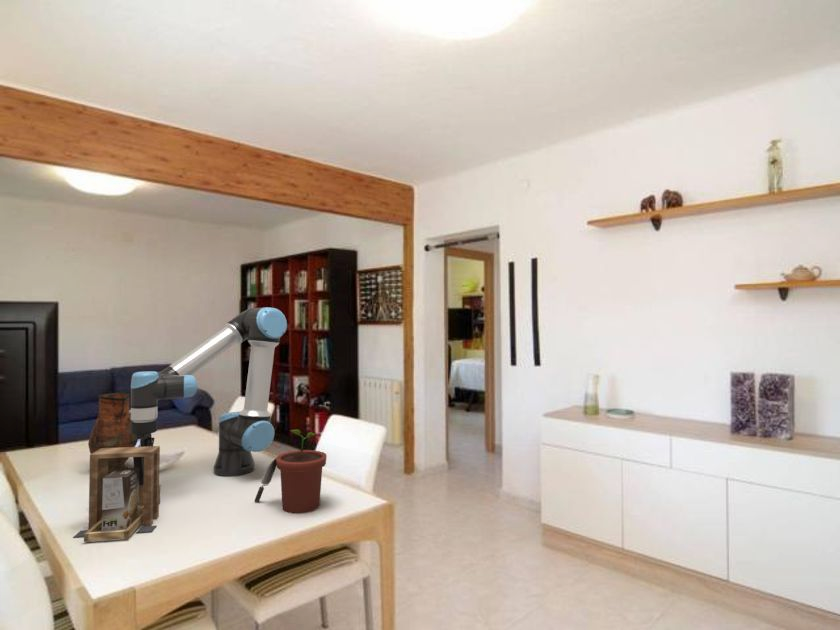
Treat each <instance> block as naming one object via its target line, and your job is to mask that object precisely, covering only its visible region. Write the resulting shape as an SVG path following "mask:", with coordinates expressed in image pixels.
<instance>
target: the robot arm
mask: <svg viewBox="0 0 840 630" xmlns="http://www.w3.org/2000/svg"><path fill="white" fill-rule="evenodd" d="M287 327H288V322H287V319H286V316H285V314H284V313H283V312H282V311H281V310H280V309H278V308H275V307H267V306H266V307H251V308H248V309H246V310H244V311H242V312H240V313H239V314H238V315H236V316H235V317H233V318H232V319H230V320H229V321H228V322H226V323H225V324H224V328H222V329H220V330H219V331H218V332H216V333H215V334H213V335H212V336H210V337H209V338H207V340H205V341H203V342H202V343H201V344H199V345H197V346H196V347H195V348H194V349H192V350H190V351H189V352H188V353H186V354H185V355H183V356H182V357H180V358H179V359H177V360H176V361H175V362H173V363H172V364H170V365H169V366H167V367H166V368H164V369H163V370H161V371H153V370H151V371H136V372H133V374H132V375H131V383H130V409H129V413H130V416H131V420H132V422H131V423H130V433H131V434H135V435H136V440H135V446H133V447H148V446H154V444H155V443H154V442H155V437H152V434H153V433H156V432H157V430H158V420H157V418H158V416H159V415H158V412H159V411H158V408H159V407H158V405H159V404H158V402H159V401H163V400H173V399H182V398H183V399H186V398H191V397H194V395H196V393H197V389H198V383H197V379H196V378H195V376H194V375H195V374H196V373H198V372H199V371H200V370H201V369H203V368H205V367H206V366H207V365H208V364H210V363H212V361H214V360H215V359H217V358H218V357H219V356H221V355H222V354H224V353H225V352H226V351H229V349H231V348H232V347H234V346H235V345H236V344H240V345H241V344H243V342H245V341H246V340H247V342H248V344H249V345H250V354H249V363H248V369H247V370H248V373H247V379H246V380H247V381H246V389H245V394H244V395H245V396H244V397H245V398H244V403H243V404H244V405H243V409H242V410H241V411H234V412H225V413H221V415H219V419H218V420H219V421H218V454H217V456H216V458H215V462H214V465H213V474H215V475H216V476H220V477H236V476H241V475H246V474H249V473H251V472H253V471H254V470H255V460H254V456H253V453H257V452H259V453H260V452H261V451H264V450H265V449H267V448H268V447H269V446H270V445H271V444H272V442H273V440H274V438H275V428H274V426H273V424H272V423H271V413H270V412H269V410H268V408H269V401H270V400H269V399H270V390H271V382H272V374H273V373H272V372H273V365H274V355H275V348H276V347H277V346H279V344H280V339H281V337H282V336H283V335H284V334H285V333H286V331H287ZM252 452H253V453H252ZM132 458H133V468H139V486H141V485H144V457H132Z"/></svg>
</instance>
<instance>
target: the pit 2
mask: <svg viewBox="0 0 840 630" xmlns="http://www.w3.org/2000/svg"><path fill="white" fill-rule="evenodd" d="M157 527H158V525H151V526H143V525H141V526H140V528H139V529H138V530H136V531H135V532H136V533H135V534H150V533H153V532H154V530H155V529H157Z"/></svg>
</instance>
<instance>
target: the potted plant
mask: <svg viewBox="0 0 840 630" xmlns="http://www.w3.org/2000/svg"><path fill="white" fill-rule="evenodd" d="M289 431H290V432H291V433H293V434H294V435H297V436H299V437H301V447H300V448H301V449H300V450H293V451H288V452H287V451H286V452H283V453H281V454H279V455H277V456H276V457H275V458H274V459H272V461H270V463H268V465H267V467H266V469H265V470H264V473H263V477H262V478H261V481H260V483H261V486H259V488H258V490H257V492H256V495H255V498H254V503H257V502H258V503H259V502H260V501H261V497H262V495H263V492H264V490H265V488H264V487H265V486H269V484H270V483H271V482H272V479H273V476H274V473H275V470H276V468H277V469H278V470H279V471H280V487H281V504H282V507H281V508H282V511H284V512H286V513H288V514H299V515H300V514H306V513H307V514H308V513H311V512H313V511H315V510H317V509H318V508H320V505H321V504H320V503H321V490H322V476H323V468H324V467H325V466H326V465H327V463H326V462H327V453H325V452H324V451H319V450H312V449H311V450H310V449H304V442H305V439H308V438H311V437H313V436H315V435H316V433H313V432H308V433H307V435H306V437H304V436H303V435H301V430H300V429H292V430H289Z"/></svg>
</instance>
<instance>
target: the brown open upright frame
mask: <svg viewBox="0 0 840 630" xmlns="http://www.w3.org/2000/svg"><path fill="white" fill-rule="evenodd" d="M160 450H161V447H160V445H153V446H148V447H122V448H101V449H99V450H97V451H95V452H94V453H92V454H91V453H90V454H89V481H88V482H89V486H88V487H89V488H88V489H89V492H88V494H89V495H88V530H89V529H91V528H92V527H93V526H94V525H95V524H96V523H97V522H99V521H100V520H101V519H102V496H103V477H105V476H106V475H108V458H123V457H129V458H133V457H144V492H143V506H142V507H143V523H142V526H153V524H154V520H157V519H158V518H159V517H160V513H159V512H160V504H159V485H160V464H161V463H160V458H161V455H160V454H161V453H160V452H161V451H160Z"/></svg>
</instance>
